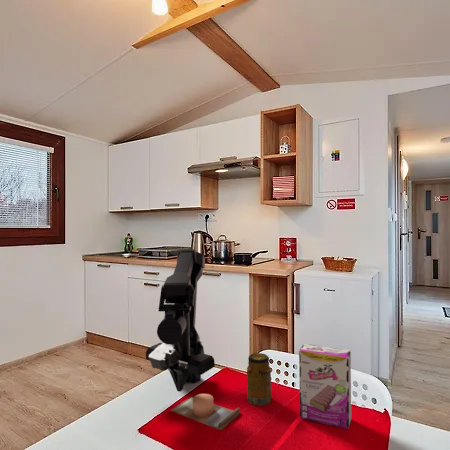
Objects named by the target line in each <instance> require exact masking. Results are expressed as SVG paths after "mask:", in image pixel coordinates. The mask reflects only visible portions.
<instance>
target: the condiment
mask: <svg viewBox="0 0 450 450" xmlns="http://www.w3.org/2000/svg"><path fill="white" fill-rule="evenodd" d="M247 359H248V360H247V361H248V362H247V364H248V365H247V367H246V377H247V378H246V381H247V383H246V385H247V387H246V389H247V390H246V391H247V392H246V393H247V402H248V403H249V404H251V405H253V406H256V407H257V406H258V407H263V406H264V407H265V406H267V405H269V404H270V403H271V402H272V375H271V374H272V373H271V372H272V371H271V366H270V357H269V355H268V354H265V353H261V352H260V353H259V352H255V353H251V354H249V356H248V358H247Z"/></svg>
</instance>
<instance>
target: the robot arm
mask: <svg viewBox="0 0 450 450" xmlns="http://www.w3.org/2000/svg"><path fill="white" fill-rule="evenodd" d="M205 267H206V260H205V256H204V254H203V253H201V252H198V251H197V250H195V249H193V248H191V249H190V248H189V249H186V248H185V249H179V250H178V253H177V254H176V264H175V268H174V271H173V274H171V275H169V276H167V277H166V279H165V281H164V282H163V285H161V290H160V296H159V304H158V312H164V318H163V319H162V320H161V321H160V322H159V324H158V325H157V328H156V329H157V330H156V334H157V335H156V336H157V337H158V340H160V342H159V343H156V344H154V345H151V346H149V347H148V348H146V351H145V360H147V361H150V364H151V367H152V368H153V369H157V370H160V371H162V372H165V371H167V370H168V372H169V373H170V376H171V378H172V381H173V383H174V387H175V388H176V391H177V392H178V393H180V392H182V391H183V389H184V387H185V385H186V384H197V383H198V382H200V381H202V375H204V374H205V373H207V372H208V371H210V370H212V369H214V368H215V365H216V362H215V358H214V356H213V355H210V354H206V353H205V348H204V345H203V344H202V341H201V340H200V337H201V336H200V335H199V333H198V332H197V329H196V314H197V294H198V293H197V292H198V281H200V279H201V278H202V276H203V274H204V269H205Z"/></svg>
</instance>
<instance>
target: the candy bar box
mask: <svg viewBox="0 0 450 450" xmlns="http://www.w3.org/2000/svg"><path fill="white" fill-rule="evenodd" d="M298 352H299V353H298V354H299V355H298V359H299V361H298V362H299V373H298V374H299V377H298V378H299V419H300V418H301V420H306V421H310V422H315V423H318V424H319V423H320V424H324V425H328V426H331V427H336V428H341V429H344V430H349V429H350V424H351V421H352V371H351V369H352V366H351V364H352V354H351V353H352V352H351V350H350V349H345V348H336V347H329V346H323V345H316V344H310V343H309V344H307V343H303V344H302V346H301V347H300V349H299V351H298Z"/></svg>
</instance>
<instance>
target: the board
mask: <svg viewBox="0 0 450 450" xmlns="http://www.w3.org/2000/svg"><path fill="white" fill-rule="evenodd" d="M193 397H194V396H192V395H191V396H190V397H188V398H187V399H185V400H183V401H182V402H180V404H178V405H176V406H175V407H173V408H172V409H170V411H171V412H173V413H176V414H178V415H181V416H183V417H186V418H188V419H190V420H194V421H196V422H198V423H201V424H204V425H207V426H208V427H211V428H213V429H216V430H218V431H223V429H224V428H226V427H227V426H228V425H229V424H230V423H231V422H232V421H233V420H234V419H235V418H237V416H239V415H240V414H241V408H240V407H237V408H235V409H234V410H233V409H231V408H230V409H229V408H226V407H224V406H221V405H218V404H215V403H213V407H214V411H213V413H212V414H211V415H209V416H206V417H198V416H196V415H194V414H193Z"/></svg>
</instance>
